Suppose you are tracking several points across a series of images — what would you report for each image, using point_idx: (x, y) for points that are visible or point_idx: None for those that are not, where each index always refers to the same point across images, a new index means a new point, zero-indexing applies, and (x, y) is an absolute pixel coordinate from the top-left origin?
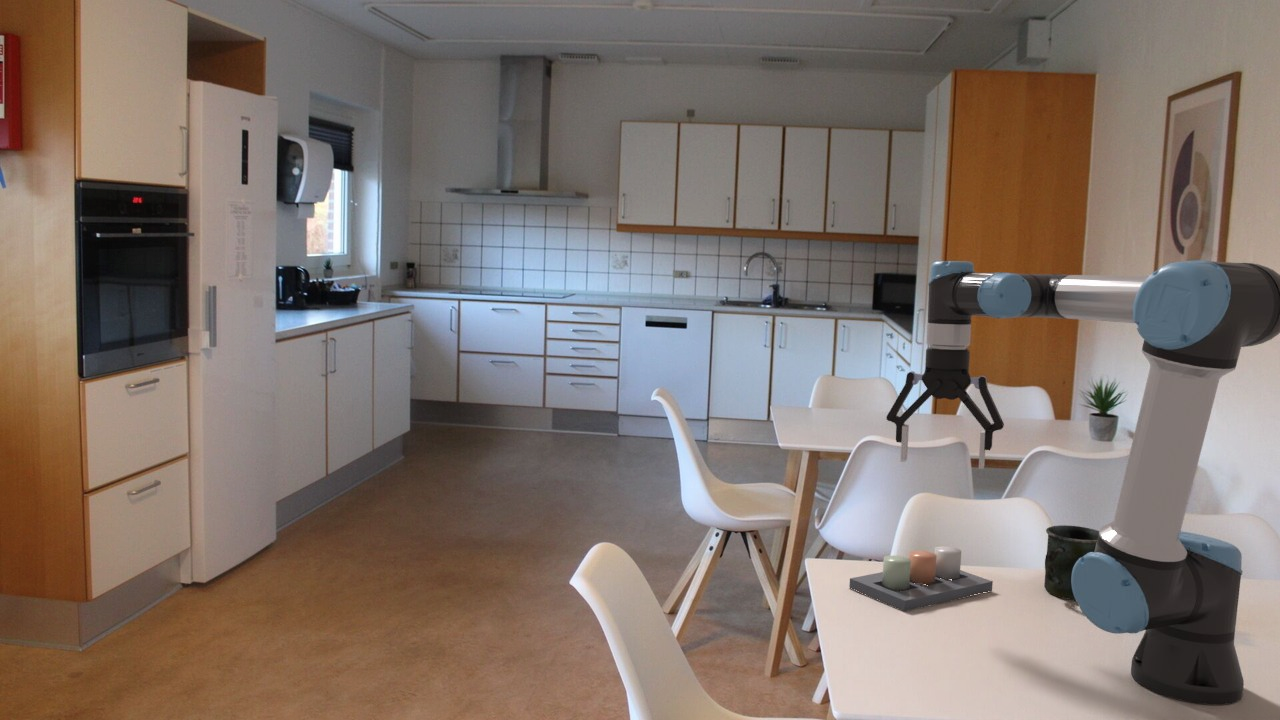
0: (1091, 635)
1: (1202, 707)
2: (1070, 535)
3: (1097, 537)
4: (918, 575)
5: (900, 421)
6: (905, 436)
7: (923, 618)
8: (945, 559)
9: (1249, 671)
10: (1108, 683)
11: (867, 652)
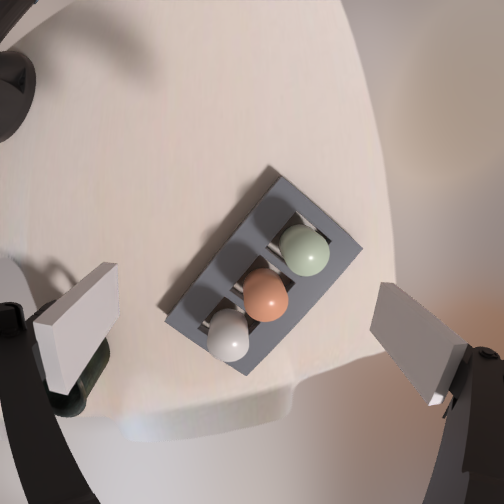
0: (54, 193)
1: None
2: (67, 404)
3: None
4: (268, 272)
5: (487, 354)
6: (430, 322)
7: (252, 158)
8: (230, 321)
9: None
10: (58, 55)
11: (309, 21)
